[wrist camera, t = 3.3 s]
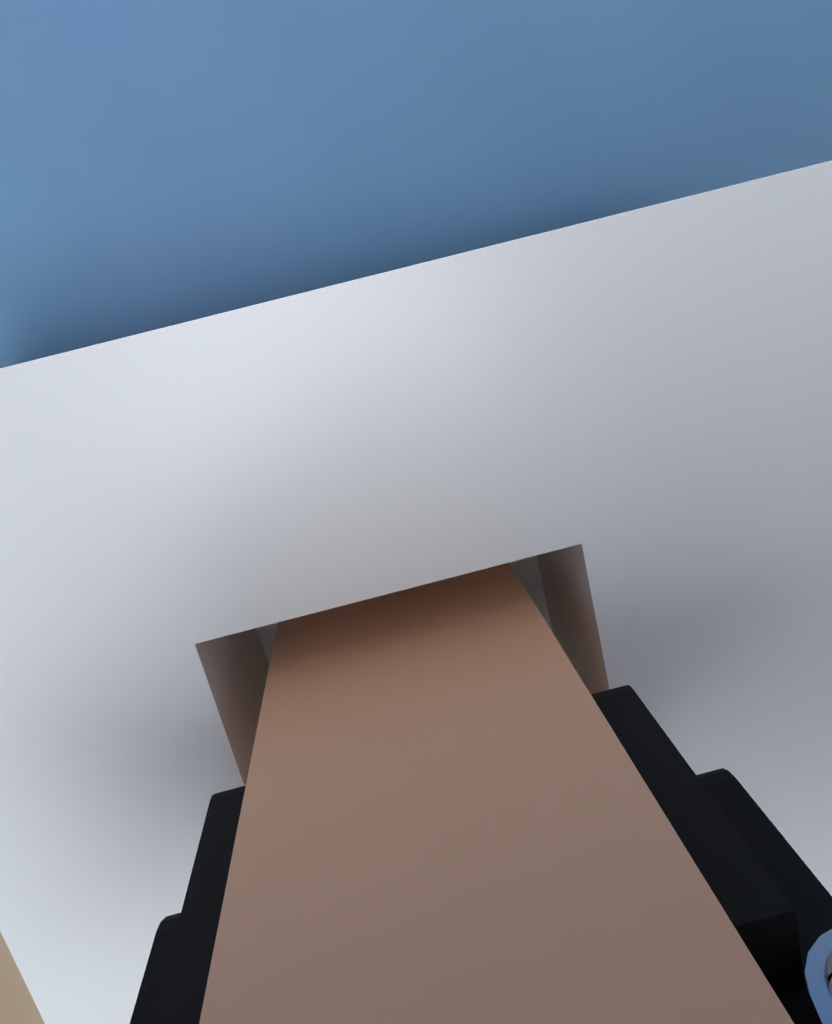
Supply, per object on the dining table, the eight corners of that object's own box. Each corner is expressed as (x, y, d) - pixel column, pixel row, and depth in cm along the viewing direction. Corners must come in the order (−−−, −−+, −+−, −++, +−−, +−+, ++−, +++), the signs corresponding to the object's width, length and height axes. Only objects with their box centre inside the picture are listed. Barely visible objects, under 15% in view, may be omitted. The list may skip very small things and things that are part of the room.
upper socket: (626, 215, 18) (841, 158, 10) (708, 747, 22) (908, 995, 14) (13, 369, 18) (-242, 428, 10) (208, 880, 21) (133, 1209, 14)
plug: (488, 529, 15) (935, 1254, 4) (529, 709, 16) (971, 1696, 5) (285, 581, 15) (108, 1485, 4) (340, 758, 16) (336, 1881, 5)
